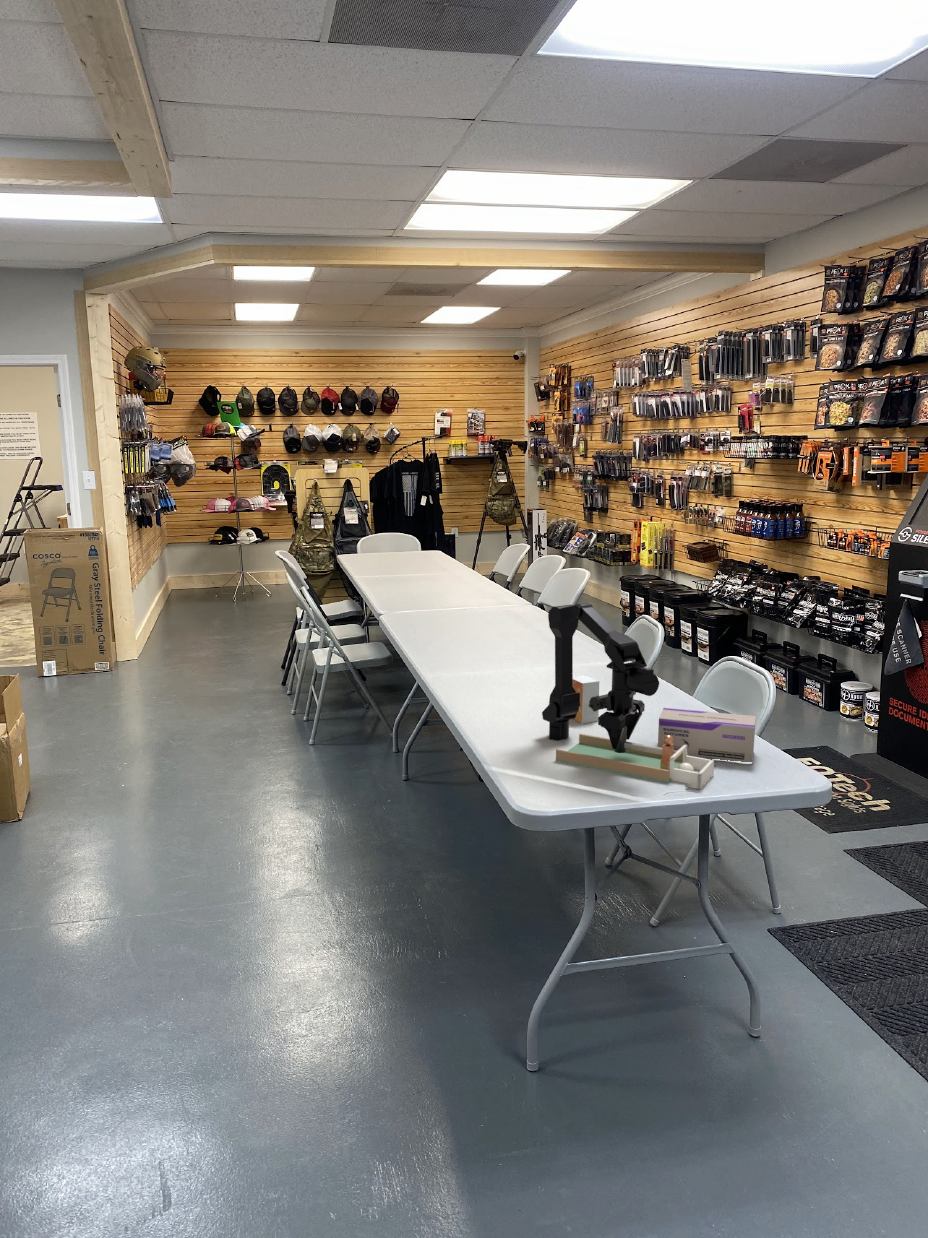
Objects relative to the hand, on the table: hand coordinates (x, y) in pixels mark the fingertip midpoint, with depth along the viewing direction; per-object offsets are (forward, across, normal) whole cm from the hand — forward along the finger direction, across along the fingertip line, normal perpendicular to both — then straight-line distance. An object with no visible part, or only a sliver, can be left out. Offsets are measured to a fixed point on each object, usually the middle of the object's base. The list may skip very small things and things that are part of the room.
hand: (620, 744), depth 236 cm
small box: (+6, -33, -25) cm, 42 cm away
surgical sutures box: (+6, -21, +17) cm, 28 cm away
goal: (+6, 0, +19) cm, 20 cm away
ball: (+4, 0, +18) cm, 18 cm away
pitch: (+6, 0, 0) cm, 6 cm away
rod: (+4, 0, +6) cm, 7 cm away
